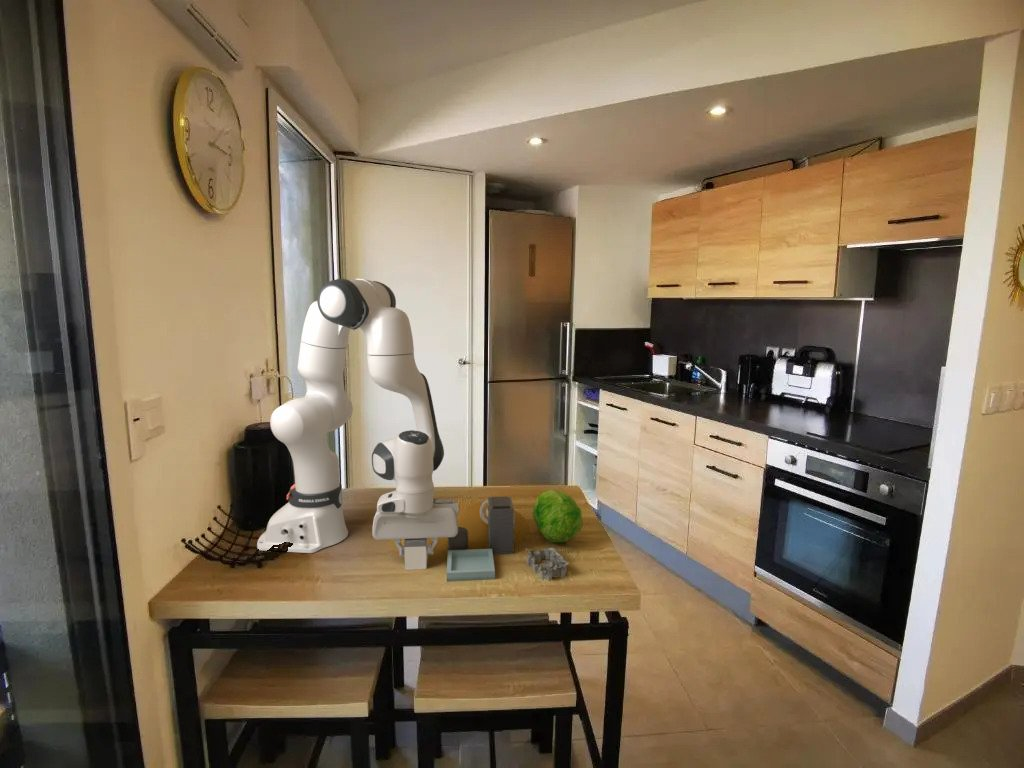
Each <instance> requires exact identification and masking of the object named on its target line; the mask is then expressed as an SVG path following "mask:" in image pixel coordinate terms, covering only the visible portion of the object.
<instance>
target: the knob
mask: <svg viewBox="0 0 1024 768" xmlns="http://www.w3.org/2000/svg"><path fill="white" fill-rule="evenodd" d="M468 537H469V530H468V528H466V527H463V526H458V534H457V535H456V536H455V537H447V541H448V544H447V545H448V547H447V548H448V550H469V549H468V548H469V541H468V540H469V538H468ZM448 550H447V551H448Z"/></svg>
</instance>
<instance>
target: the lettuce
mask: <svg viewBox="0 0 1024 768" xmlns="http://www.w3.org/2000/svg"><path fill="white" fill-rule="evenodd" d="M532 517H533V520H534V524H535V525H536V527H537V529H538V530H539V531H540V534H542V535H543V537H544V538H545V539H546V540H548V541H550V542H552V543H558V544H560V543H565V542H567V541H569V540H571V539H572V538H574V537H575V536H576V535H577V534H579V532H581V530H582V527H583V524H584V521H583V514H582V509H581V507H580V506H579V505H578V504H577V502H576V501H575V500H574V499H573V498H572V497H571V496H570V495H569V494H567V493H565V492H563V491H560V490H555V489H549V490H545V491H543V492H541V493H540V494H539V495H537V497H536V500H535V502H534V505H533V509H532Z"/></svg>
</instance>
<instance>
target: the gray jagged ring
mask: <svg viewBox="0 0 1024 768" xmlns="http://www.w3.org/2000/svg"><path fill="white" fill-rule="evenodd" d="M524 550H525V551H527V552H528V555H527V557H526V565H527V566H528V567H532V572H533V573H535V574H539V579H540V580H541V579H542V580H541V581H547V580H548V582H552V581H553V578H555V576H557V578H561V579H563V578H566V574H567V572H568V571H567V569H568V567H567V566H568V565H569V564H570V562H568V561H567V560H565V558H564V557H563V556H562V555H561V554H560V553H559V552H558V551H557V550H556V549H555V548H554V547H548V548H545V547H544V548H543V549H540V548H539V549H537V551H536V552H534V550H533V549H528V548H527V547H526V548H525V549H524ZM542 559H544V563H539V562H541V561H542ZM536 563H538V564H536ZM552 577H553V578H552ZM544 579H546V580H544ZM551 580H552V581H551Z"/></svg>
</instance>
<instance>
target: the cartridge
mask: <svg viewBox="0 0 1024 768" xmlns="http://www.w3.org/2000/svg"><path fill="white" fill-rule="evenodd" d="M403 540H404V541H403V546H404V551H405V555H404V571H406V570H407V571H410V570H411V571H412V570H427V568H428V567H427V566H428V556H429V554H428V555H427V545H428V538H416V539H403Z"/></svg>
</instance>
